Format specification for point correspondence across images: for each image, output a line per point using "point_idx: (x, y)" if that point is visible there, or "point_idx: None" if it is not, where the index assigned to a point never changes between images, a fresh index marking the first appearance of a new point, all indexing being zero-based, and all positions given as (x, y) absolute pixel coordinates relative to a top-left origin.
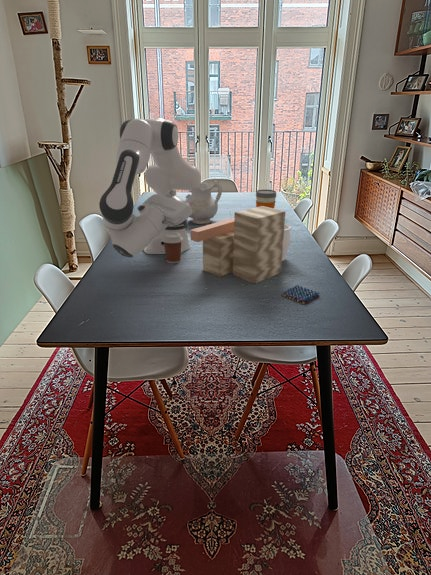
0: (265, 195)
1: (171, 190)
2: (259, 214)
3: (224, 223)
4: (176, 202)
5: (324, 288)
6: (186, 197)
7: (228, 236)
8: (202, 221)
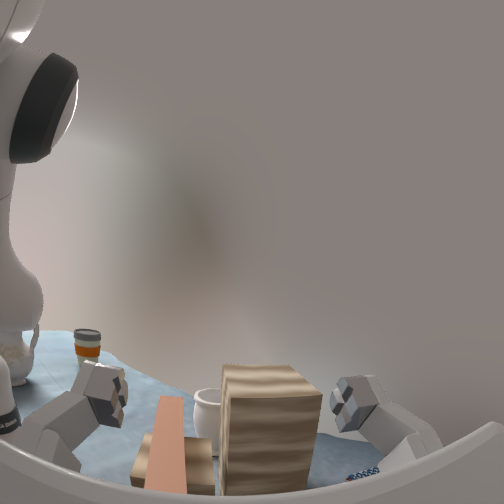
0: (90, 337)
1: (92, 371)
2: (287, 384)
3: (178, 430)
4: (420, 489)
5: (359, 457)
6: (368, 407)
7: (211, 462)
8: (15, 381)
